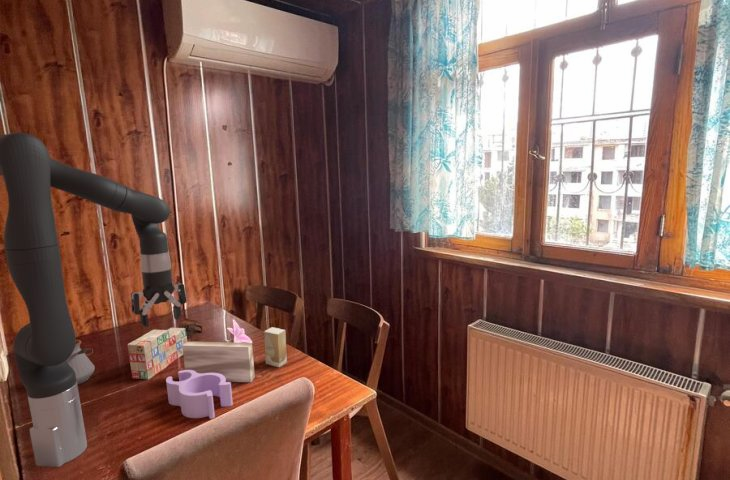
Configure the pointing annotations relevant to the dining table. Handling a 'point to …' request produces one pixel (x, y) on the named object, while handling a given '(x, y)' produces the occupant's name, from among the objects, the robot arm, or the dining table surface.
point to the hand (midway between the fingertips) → (161, 322)
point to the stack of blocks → (155, 351)
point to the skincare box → (275, 346)
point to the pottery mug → (190, 326)
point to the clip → (198, 393)
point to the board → (221, 359)
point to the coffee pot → (81, 363)
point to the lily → (239, 334)
